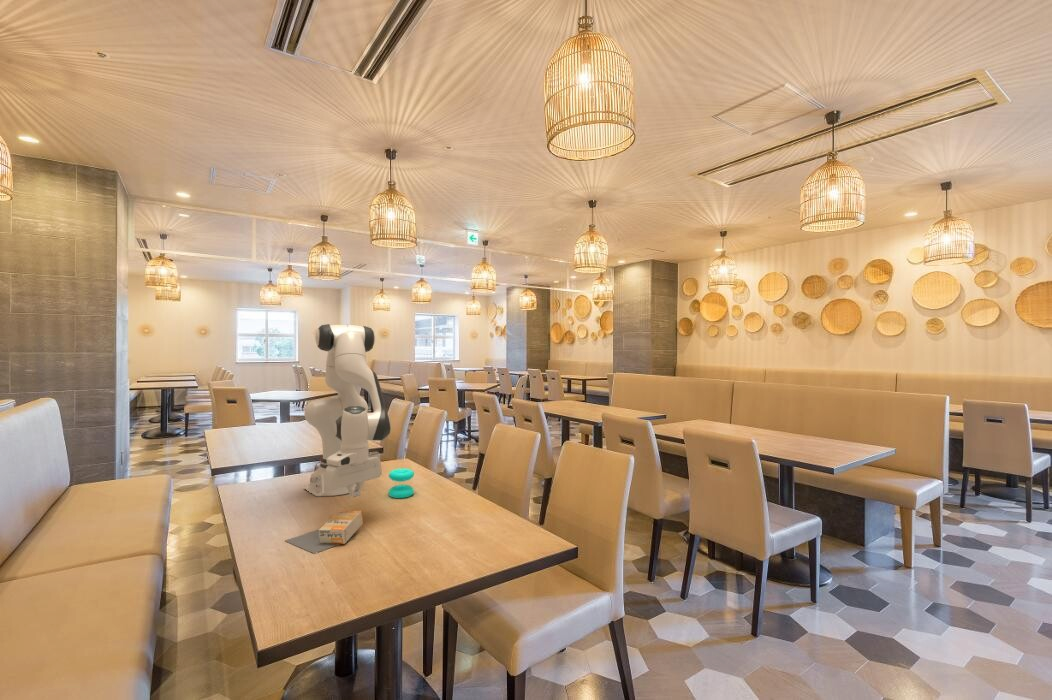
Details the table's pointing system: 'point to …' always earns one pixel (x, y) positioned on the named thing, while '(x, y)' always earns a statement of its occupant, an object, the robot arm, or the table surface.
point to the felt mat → (311, 542)
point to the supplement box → (340, 527)
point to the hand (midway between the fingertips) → (354, 496)
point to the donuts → (401, 490)
